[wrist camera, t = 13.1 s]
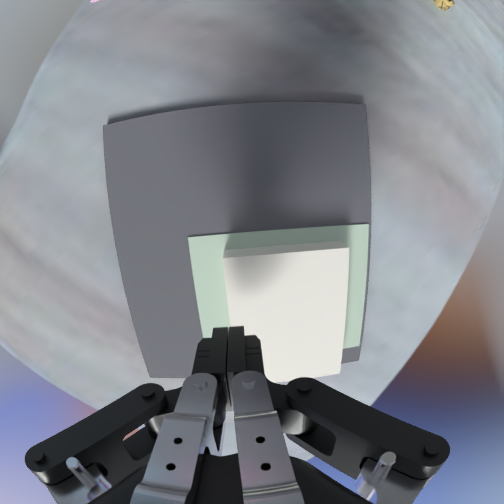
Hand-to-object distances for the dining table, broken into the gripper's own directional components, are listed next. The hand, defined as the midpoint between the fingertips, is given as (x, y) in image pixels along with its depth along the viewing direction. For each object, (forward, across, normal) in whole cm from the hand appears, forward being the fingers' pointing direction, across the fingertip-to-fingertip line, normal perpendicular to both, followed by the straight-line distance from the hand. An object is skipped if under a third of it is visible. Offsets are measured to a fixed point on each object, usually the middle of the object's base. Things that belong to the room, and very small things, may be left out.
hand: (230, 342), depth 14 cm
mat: (+5, -1, -3) cm, 6 cm away
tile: (+4, -3, -4) cm, 6 cm away
